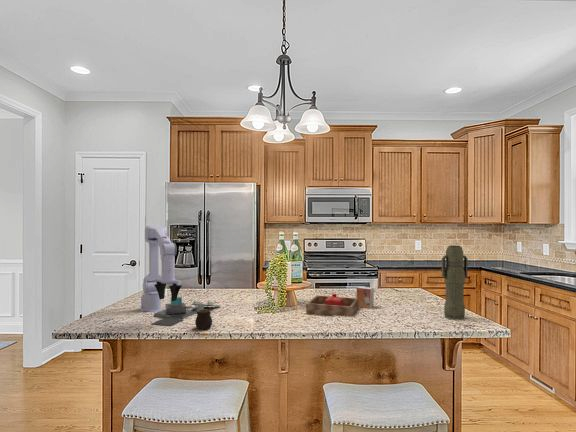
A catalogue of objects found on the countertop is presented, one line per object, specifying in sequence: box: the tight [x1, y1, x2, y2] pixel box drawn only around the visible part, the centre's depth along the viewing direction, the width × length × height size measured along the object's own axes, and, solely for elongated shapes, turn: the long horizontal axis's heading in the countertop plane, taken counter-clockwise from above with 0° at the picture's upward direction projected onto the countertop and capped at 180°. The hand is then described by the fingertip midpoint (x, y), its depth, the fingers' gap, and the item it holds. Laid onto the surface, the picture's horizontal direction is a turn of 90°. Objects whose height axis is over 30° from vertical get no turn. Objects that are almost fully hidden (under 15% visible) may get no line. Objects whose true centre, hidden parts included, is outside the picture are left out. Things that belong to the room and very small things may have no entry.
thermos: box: [441, 244, 469, 321], centre depth 180 cm, size 9×12×35 cm
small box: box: [355, 286, 375, 309], centre depth 205 cm, size 8×6×10 cm
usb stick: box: [169, 296, 184, 306], centre depth 187 cm, size 6×2×7 cm, turn 112°
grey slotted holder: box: [164, 302, 200, 314], centre depth 188 cm, size 16×9×3 cm, turn 112°
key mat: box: [150, 318, 184, 327], centre depth 173 cm, size 10×10×1 cm
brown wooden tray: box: [305, 295, 360, 317], centre depth 197 cm, size 23×21×5 cm
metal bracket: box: [189, 300, 222, 311], centre depth 198 cm, size 14×6×15 cm
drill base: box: [153, 309, 197, 320], centre depth 187 cm, size 16×12×2 cm
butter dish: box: [324, 293, 344, 306], centre depth 200 cm, size 12×12×8 cm
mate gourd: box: [194, 306, 214, 331], centre depth 163 cm, size 7×8×10 cm
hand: (167, 299), depth 173 cm, fingers open, 7 cm apart
